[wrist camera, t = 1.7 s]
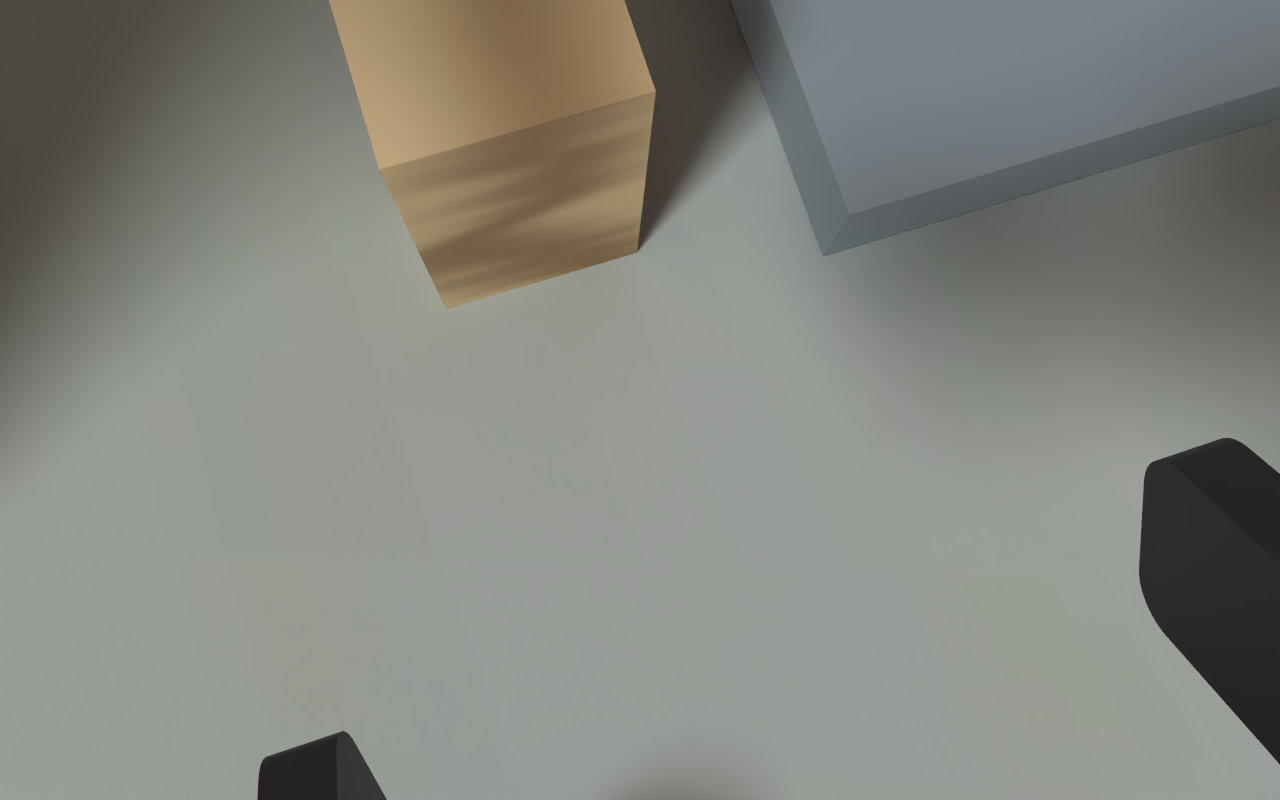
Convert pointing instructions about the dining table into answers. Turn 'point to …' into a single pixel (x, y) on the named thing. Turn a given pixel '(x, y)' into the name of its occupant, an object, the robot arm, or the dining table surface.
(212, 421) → the dining table surface
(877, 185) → the plinth
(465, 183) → the block
